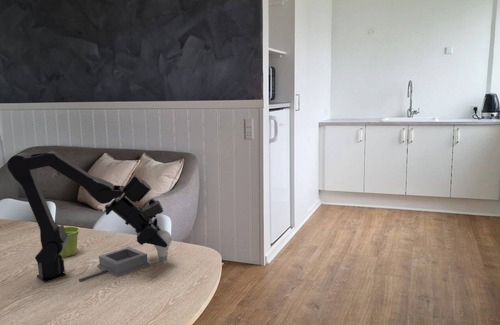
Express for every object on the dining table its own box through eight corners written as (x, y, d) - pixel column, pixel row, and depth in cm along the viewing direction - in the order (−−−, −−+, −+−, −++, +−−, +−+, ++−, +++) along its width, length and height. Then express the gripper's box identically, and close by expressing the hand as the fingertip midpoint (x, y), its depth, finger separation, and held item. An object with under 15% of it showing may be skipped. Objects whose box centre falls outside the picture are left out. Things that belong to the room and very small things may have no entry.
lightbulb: (162, 268, 137) (160, 234, 135) (149, 263, 141) (147, 231, 139) (176, 261, 142) (175, 229, 140) (163, 257, 146) (162, 226, 144)
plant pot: (86, 249, 158) (84, 226, 156) (73, 259, 148) (71, 235, 147) (62, 249, 159) (59, 226, 157) (47, 259, 149) (45, 234, 148)
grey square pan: (89, 287, 126) (88, 275, 126) (70, 276, 135) (69, 264, 134) (149, 265, 142) (149, 254, 141) (129, 256, 150) (129, 245, 149)
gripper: (146, 200, 128) (185, 233, 132) (147, 187, 146) (182, 216, 150) (120, 228, 127) (160, 260, 131) (124, 211, 145) (159, 240, 149)
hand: (166, 242), depth 141 cm, fingers closed on lightbulb, 6 cm apart
